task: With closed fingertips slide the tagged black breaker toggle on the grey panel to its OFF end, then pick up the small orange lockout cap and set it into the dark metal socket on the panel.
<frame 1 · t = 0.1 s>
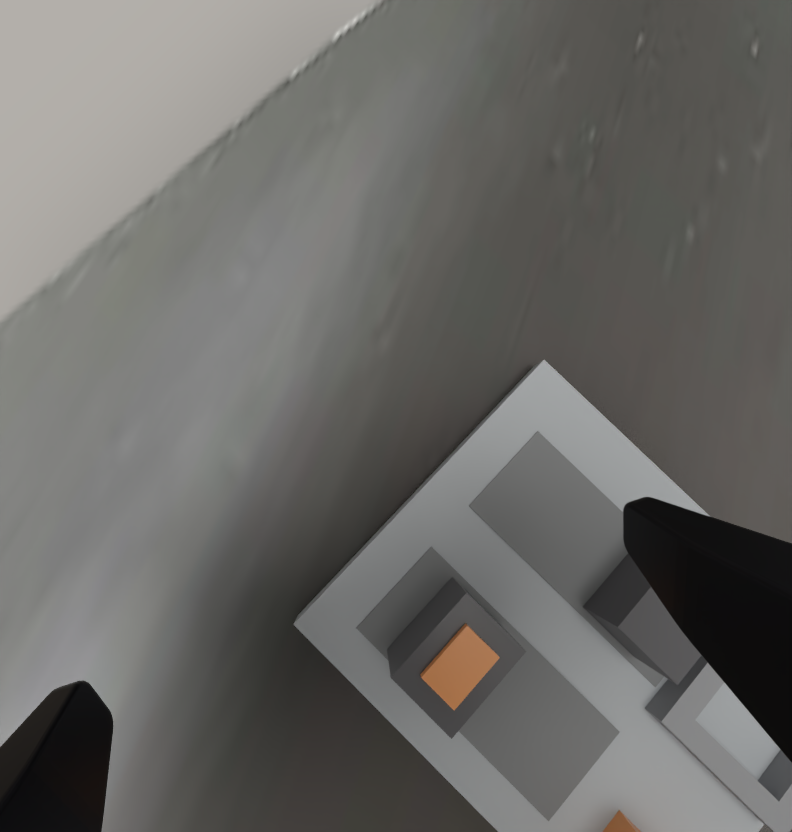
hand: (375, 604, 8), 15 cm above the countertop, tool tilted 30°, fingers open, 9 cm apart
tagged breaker: (452, 651, 19), point 3 cm above the countertop, slide at 0.0 cm
panel: (577, 637, 23), on the countertop
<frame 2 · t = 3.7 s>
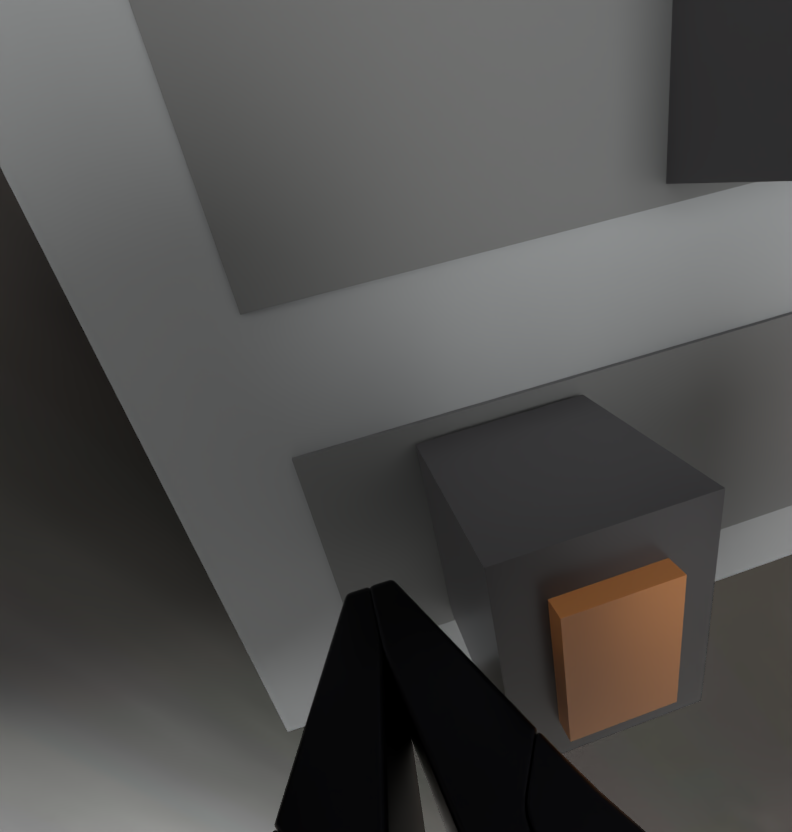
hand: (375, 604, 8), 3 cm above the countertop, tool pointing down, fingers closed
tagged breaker: (557, 574, 8), point 3 cm above the countertop, slide at 0.5 cm, touching gripper
panel: (675, 224, 9), on the countertop
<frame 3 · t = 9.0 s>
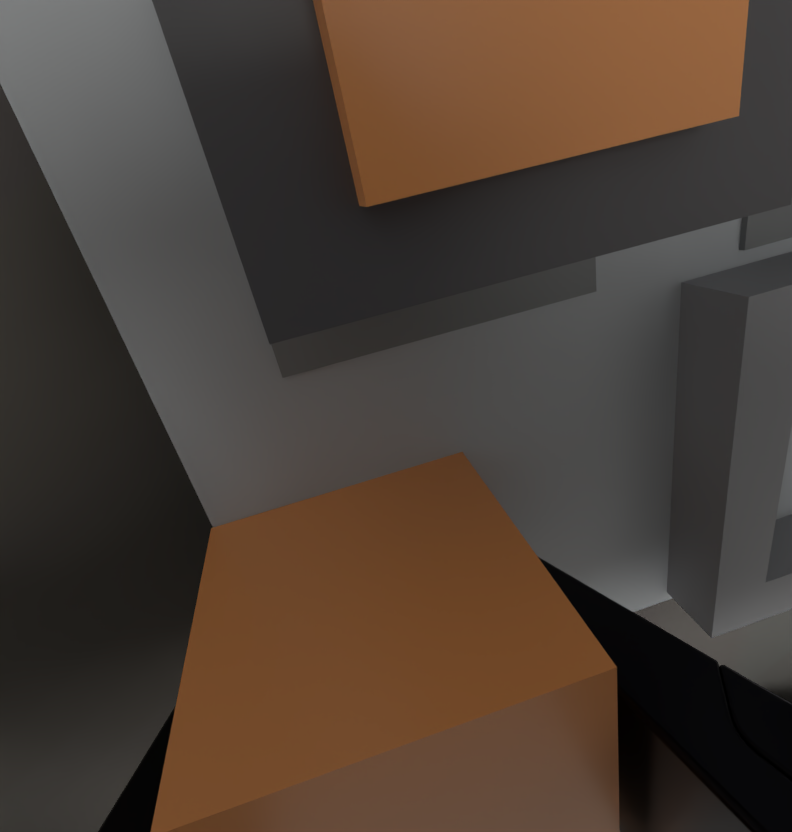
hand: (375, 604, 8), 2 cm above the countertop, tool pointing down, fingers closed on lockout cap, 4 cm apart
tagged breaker: (452, 64, 4), point 3 cm above the countertop, slide at 5.2 cm
panel: (633, 45, 7), on the countertop
lockout cap: (370, 582, 8), point 2 cm above the countertop, touching gripper, panel
when the fingers open (3 cm above the countertop, at t = 12.1 s): lockout cap drops 2 cm, resting on panel.
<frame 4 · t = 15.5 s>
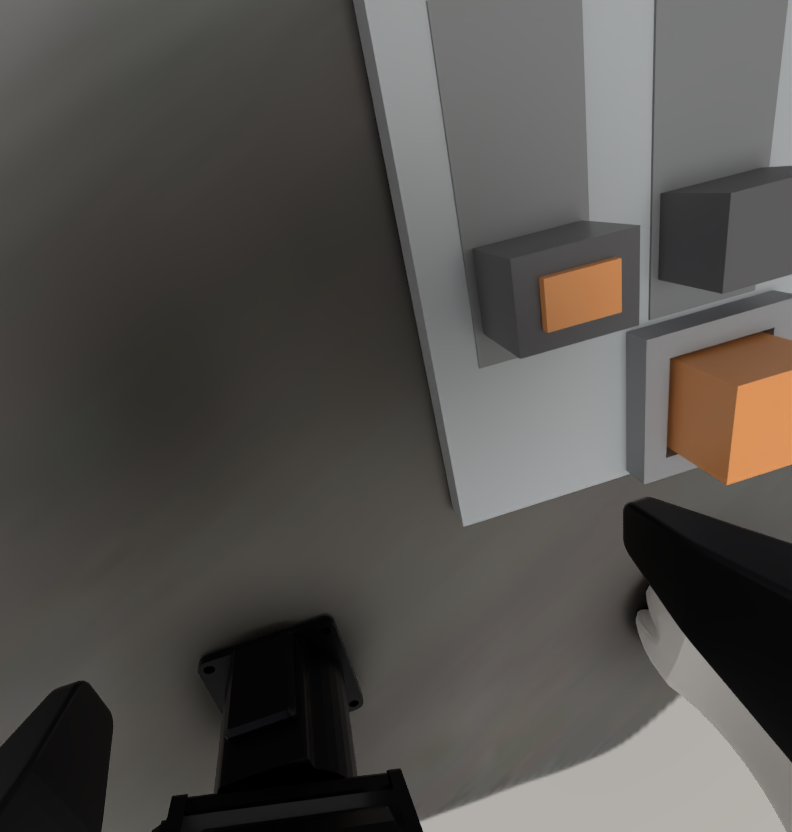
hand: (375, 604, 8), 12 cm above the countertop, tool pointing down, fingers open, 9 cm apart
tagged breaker: (555, 286, 16), point 3 cm above the countertop, slide at 5.2 cm
panel: (607, 241, 19), on the countertop
lockout cap: (696, 383, 21), point 1 cm above the countertop, touching panel
water bottle: (674, 593, 29), on the countertop
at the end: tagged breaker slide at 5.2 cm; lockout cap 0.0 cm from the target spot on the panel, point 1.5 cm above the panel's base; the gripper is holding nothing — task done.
